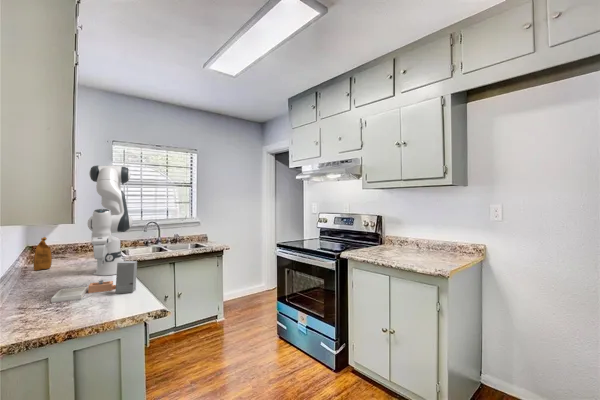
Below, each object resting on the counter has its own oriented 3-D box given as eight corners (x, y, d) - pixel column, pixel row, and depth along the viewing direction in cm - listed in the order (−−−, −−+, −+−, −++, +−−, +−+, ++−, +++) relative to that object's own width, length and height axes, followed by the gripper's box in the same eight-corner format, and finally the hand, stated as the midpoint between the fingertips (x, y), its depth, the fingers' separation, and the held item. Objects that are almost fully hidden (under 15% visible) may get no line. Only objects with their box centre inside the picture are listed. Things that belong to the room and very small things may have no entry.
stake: (98, 289, 160) (98, 280, 160) (104, 289, 161) (104, 280, 161) (96, 291, 156) (96, 282, 156) (103, 291, 157) (103, 281, 157)
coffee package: (53, 266, 218) (53, 236, 218) (50, 269, 207) (51, 238, 208) (35, 268, 212) (35, 237, 212) (31, 271, 202) (32, 239, 202)
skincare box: (115, 294, 152) (115, 263, 153) (119, 290, 159) (120, 260, 159) (133, 292, 155) (133, 262, 155) (137, 289, 161) (137, 259, 162)
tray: (60, 293, 153) (60, 289, 153) (87, 290, 158) (87, 286, 158) (51, 302, 139) (51, 298, 139) (81, 299, 144) (81, 294, 144)
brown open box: (88, 293, 154) (88, 286, 154) (90, 289, 160) (90, 283, 160) (115, 290, 159) (116, 283, 159) (117, 287, 165) (117, 280, 165)
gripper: (97, 237, 167) (97, 262, 167) (91, 241, 149) (90, 269, 149) (110, 237, 170) (110, 261, 170) (106, 240, 152) (105, 268, 151)
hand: (101, 265), depth 159 cm, fingers open, 8 cm apart
